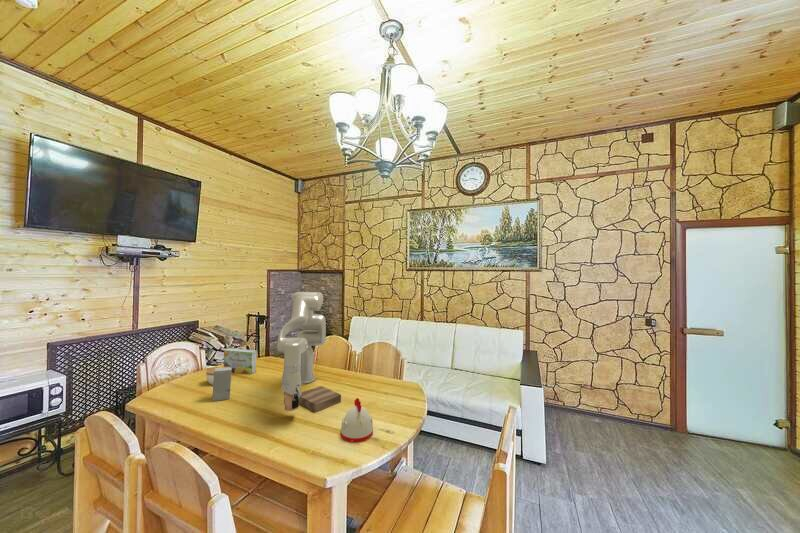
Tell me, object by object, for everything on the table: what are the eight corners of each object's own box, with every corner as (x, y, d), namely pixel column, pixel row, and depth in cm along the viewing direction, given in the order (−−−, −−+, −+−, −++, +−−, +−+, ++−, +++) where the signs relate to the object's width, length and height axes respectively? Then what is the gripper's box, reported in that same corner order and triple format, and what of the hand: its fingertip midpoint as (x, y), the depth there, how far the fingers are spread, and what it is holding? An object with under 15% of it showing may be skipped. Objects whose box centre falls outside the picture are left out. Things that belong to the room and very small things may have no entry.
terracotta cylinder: (282, 407, 142) (282, 393, 142) (293, 403, 147) (293, 389, 147) (288, 412, 138) (289, 397, 138) (300, 407, 143) (300, 393, 143)
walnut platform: (295, 401, 160) (295, 394, 160) (320, 392, 172) (320, 385, 172) (315, 412, 148) (315, 404, 148) (340, 402, 160) (341, 394, 161)
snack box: (222, 372, 201) (223, 349, 202) (228, 369, 207) (229, 347, 207) (251, 374, 198) (251, 351, 198) (256, 371, 204) (257, 349, 204)
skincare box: (211, 402, 157) (212, 371, 157) (213, 396, 163) (214, 367, 163) (230, 399, 161) (231, 369, 161) (230, 394, 167) (231, 365, 167)
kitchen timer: (344, 445, 121) (345, 408, 122) (337, 428, 134) (338, 394, 134) (377, 438, 127) (378, 402, 127) (367, 422, 140) (368, 390, 140)
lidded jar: (229, 382, 184) (230, 367, 184) (211, 387, 175) (211, 371, 175) (220, 378, 190) (221, 363, 190) (202, 383, 181) (202, 368, 181)
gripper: (275, 365, 145) (274, 402, 145) (295, 374, 134) (294, 414, 134) (289, 362, 151) (288, 397, 151) (309, 370, 140) (308, 408, 140)
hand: (291, 405), depth 143 cm, fingers closed on terracotta cylinder, 6 cm apart
